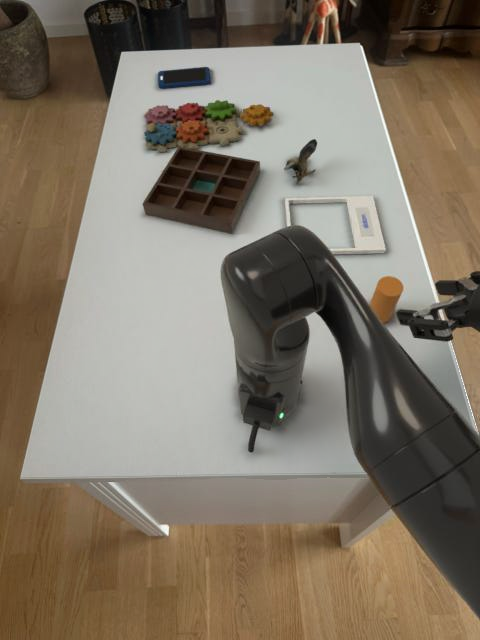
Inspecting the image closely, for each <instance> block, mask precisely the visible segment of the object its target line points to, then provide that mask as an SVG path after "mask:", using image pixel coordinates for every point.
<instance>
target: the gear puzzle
mask: <svg viewBox="0 0 480 640" xmlns="http://www.w3.org/2000/svg"><path fill="white" fill-rule="evenodd" d="M273 116H274V112H273V111H271V107H270V106H264V105H263V104H261V103H260V104H251V105H250V106H249V107H246V108H243V109H242V113H241V112H240V109H239V108H238V107H237V108H235V103H230V102H229V101H228V100H227V99H226V100H222V101H221V100H219V99H217V100H215V102H208V103H207V105H206V106H204V105H200V104H199V103H198V102H186V104H183V105H178V108H176V109H175V108H172V107H169V106H168V104H167V105H164V104H163V105H155V106H154V107H152V108H148V110H147V111H146V113H145V114H144V116H143V117H144V118H145V123H146V125H145V128H146V130H145V131H144V132H143V134H144V136H145V138H144V139H145V146H146V149H147V150H150V151H151V150H157V153H164V152H168V149H170V148H177V147H184V148H186V147H187V148H190V149H195V150H199V146H204V145H208V144H211V145H213V144H219V146H220V147H226V146H227V147H228V146H229V145H230V143H234V142H238V141H239V140H240V135H244V129H243V126H242V125H241V126H238V124H237V117H239V118H240V119H242V124H244V125H245V124H249V125H250V127H255V126H256V125H259V126H260V127H263V126H264V124H265V123H270V122H271V121H272V119H271V118H272V117H273Z"/></svg>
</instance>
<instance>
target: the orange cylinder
mask: <svg viewBox="0 0 480 640" xmlns="http://www.w3.org/2000/svg"><path fill="white" fill-rule="evenodd" d="M403 291H404V284H403V283H402V281H401V280H400V279H398V278H397V277H395V276H391V275H386V276H383V277H381V278H380V279H378V281H377V283H376V286H375V289H374V292H373V294H372V297H371V300H370V302H369V305H370V306H371V308H372V309H373V310H374V312H375V313H376V315H377V316H378V317H379V319H380V320H381V321H382V323H383V324H386V323H388V322H389V321H390V319H391V318H392V315H393V313H394V311H395V309H396V307H397V304H398V302H399V300H400V298H401V296H402V294H403Z"/></svg>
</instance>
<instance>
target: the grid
mask: <svg viewBox="0 0 480 640" xmlns="http://www.w3.org/2000/svg"><path fill="white" fill-rule="evenodd" d="M260 174H261V161H259V160H253V159H250V158H243V157H237V156H232V155H228V154H221V153H216V152H211V151H205V150H200V149H190V148H188V147H179V146H177V147H176V150H175V151H174V153H173V155H172V156H171V158H170V159H169V161H168V162H167V164H166V165H165V167H164V169H163V171H161V174H160V175H159V177H158V178H157V180H156V182H154V184H153V186H152V187H151V188H150V189H151V190H150V191H149V193H148V194H147V196H146V197H145V199H144V201H143V202H142V207H143V211H144V214H145V215H146V216H150V217H155V218H158V219H163V220H168V221H171V222H178V223H182V224H186V225H191V226H195V227H200V228H204V229H209V230H212V231H213V230H214V231H218V232H221V233H227V234H231V235H232V234H233V233H234V231H235V229H236V226H237V224H238V221H239V220H240V218H241V215H242V213H243V211H244V209H245V206H246V204H247V202H248V200H249V197H250V196H251V193H252V191H253V189H254V187H255V185H256V182H257V180H258V178H259V176H260Z"/></svg>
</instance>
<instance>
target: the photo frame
mask: <svg viewBox="0 0 480 640" xmlns="http://www.w3.org/2000/svg"><path fill="white" fill-rule="evenodd" d="M325 203H326V204H327V203H328V204H329V203H346V207H347V212H348V213H347V214H348V217H349V223H350V228H351V233H352V239H353V245H354V247H336V248H335V247H334V248H333V247H332V248H328V249H329V250H330V251H331V252H332V254H333V255H358V254H359V255H360V254H361V255H363V254H385V253H386V245H385V240H384V237H383V236H384V235H383V232H382V229H381V228H382V227H381V224H380V220H379V219H380V218H379V215H378V212H377V207H376V202H375V199H374V195H353V196H350V195H348V196H346V195H345V196H319V197H318V196H315V197H310V196H309V197H284V207H285V208H284V209H285V221H286V227H288V226H292V224H291V214H290V205H291V204H293V205H294V204H295V205H296V204H325Z"/></svg>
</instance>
